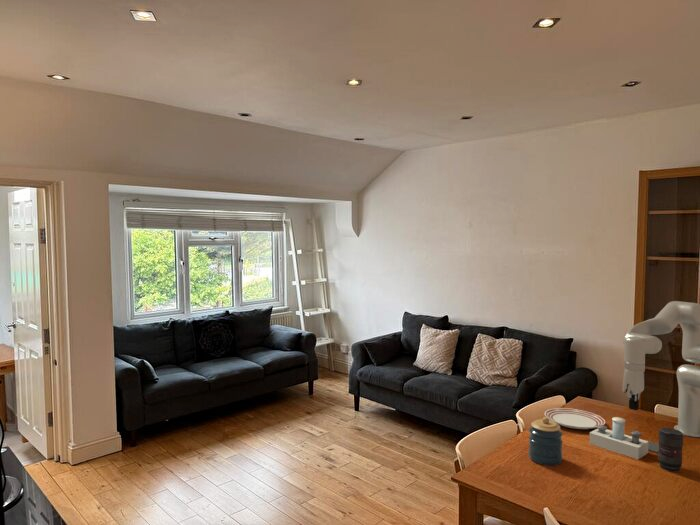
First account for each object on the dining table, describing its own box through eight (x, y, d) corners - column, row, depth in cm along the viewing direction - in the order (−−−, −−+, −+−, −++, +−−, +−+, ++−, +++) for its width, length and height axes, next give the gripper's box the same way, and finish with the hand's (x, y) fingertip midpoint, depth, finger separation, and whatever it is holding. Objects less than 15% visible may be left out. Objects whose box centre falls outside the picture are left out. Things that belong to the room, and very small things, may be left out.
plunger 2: (632, 443, 207) (632, 429, 207) (642, 446, 204) (642, 432, 204) (628, 446, 205) (628, 432, 205) (638, 449, 202) (638, 435, 201)
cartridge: (614, 444, 214) (615, 416, 213) (626, 448, 210) (627, 419, 209) (609, 447, 211) (610, 418, 210) (621, 451, 207) (622, 422, 206)
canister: (562, 455, 204) (563, 414, 203) (562, 468, 192) (562, 425, 191) (529, 450, 209) (530, 410, 209) (527, 462, 198) (527, 420, 197)
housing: (589, 443, 215) (589, 432, 215) (600, 437, 221) (600, 427, 221) (637, 459, 199) (638, 447, 199) (648, 452, 205) (648, 441, 205)
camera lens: (686, 473, 187) (687, 435, 186) (663, 472, 189) (664, 434, 188) (676, 464, 195) (677, 427, 194) (654, 462, 197) (655, 426, 196)
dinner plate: (559, 409, 260) (559, 403, 259) (613, 423, 239) (614, 416, 239) (534, 422, 241) (534, 416, 241) (591, 438, 221) (591, 431, 221)
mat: (643, 440, 217) (643, 439, 217) (665, 447, 210) (665, 446, 210) (634, 446, 212) (634, 444, 212) (657, 453, 205) (657, 451, 205)
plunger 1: (599, 437, 219) (599, 424, 218) (608, 440, 215) (608, 426, 215) (595, 439, 216) (595, 426, 216) (604, 442, 213) (604, 429, 213)
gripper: (633, 361, 211) (632, 403, 212) (616, 367, 202) (616, 410, 203) (651, 365, 205) (651, 407, 206) (635, 371, 196) (635, 415, 197)
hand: (633, 409), depth 205 cm, fingers closed
